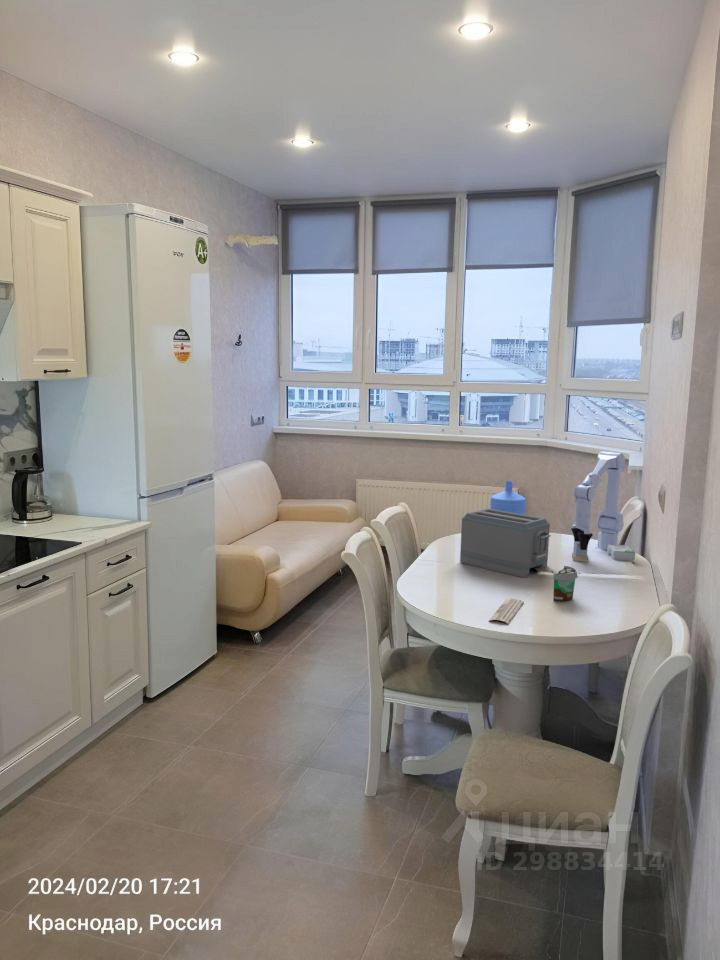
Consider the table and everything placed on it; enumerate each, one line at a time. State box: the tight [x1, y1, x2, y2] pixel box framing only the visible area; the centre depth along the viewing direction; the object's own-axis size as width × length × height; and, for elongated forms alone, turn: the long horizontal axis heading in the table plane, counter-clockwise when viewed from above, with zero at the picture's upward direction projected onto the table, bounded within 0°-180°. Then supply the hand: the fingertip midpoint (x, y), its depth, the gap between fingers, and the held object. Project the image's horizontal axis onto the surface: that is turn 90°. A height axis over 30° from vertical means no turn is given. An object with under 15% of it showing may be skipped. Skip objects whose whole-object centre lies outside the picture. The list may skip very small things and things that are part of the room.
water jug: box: [489, 480, 527, 515], centre depth 325 cm, size 16×16×28 cm
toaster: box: [459, 508, 551, 579], centre depth 286 cm, size 19×33×20 cm, turn 47°
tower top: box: [571, 552, 590, 562], centre depth 296 cm, size 6×6×2 cm
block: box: [572, 540, 589, 556], centre depth 296 cm, size 4×4×5 cm
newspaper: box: [488, 598, 525, 625], centre depth 234 cm, size 24×7×2 cm, turn 156°
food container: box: [552, 565, 579, 603], centre depth 248 cm, size 12×6×10 cm, turn 148°
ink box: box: [606, 544, 636, 564], centre depth 303 cm, size 9×5×12 cm
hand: (580, 547), depth 296 cm, fingers open, 7 cm apart
